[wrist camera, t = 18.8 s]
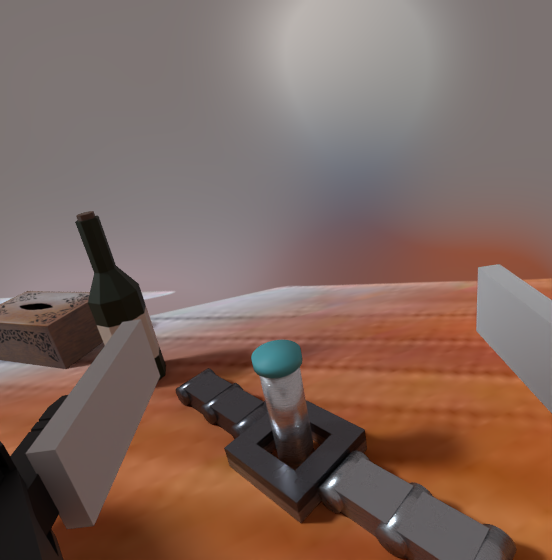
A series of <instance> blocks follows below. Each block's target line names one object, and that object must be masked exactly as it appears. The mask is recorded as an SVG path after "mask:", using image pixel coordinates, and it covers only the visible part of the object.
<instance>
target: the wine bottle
mask: <svg viewBox="0 0 552 560" xmlns="http://www.w3.org/2000/svg"><path fill="white" fill-rule="evenodd" d="M77 219H78V220H77V221H76V222H75V223H76V225H77V228H78V231H79V233H80V236H81V239H82V241H83V244H84V247H85V249H86V252H87V254H88V257H89V260H90V263H91V265H92V268H93V270H94V277H93V282H92V286H91V290H90V295H89V299H88V305H89V307H90V310H91V312H92V315H93V317H94V320H95V322H96V325H97V327H98V330H99V332H100V335H101V337H102V340H103V343H104V345H106V343H107V342H108V341H109V339H110V338H111V337H112V335H113V334H114V333H115V331H116V330H117V329H118V327H119V326H120V324H121V323H122V322H126V321H132V320H139V319H141V321H142V324H143V327H144V330H145V333H146V336H147V339H148V342H149V345H150V348H151V351H152V353H153V356H154V359H155V362H156V365H157V368H158V371H159V374H160V378H159V380H160V379H161V378H162V377H163V376H165V371H166V365H165V362H164V359H163V356H162V353H161V350H160V347H159V344H158V341H157V338H156V335H155V332H154V329H153V326H152V323H151V320H150V317H149V314H148V311H147V308H146V306H145V302H144V299H143V296H142V293H141V290H140V287H139V284H138V283H137V282H136V281H134V280H133V279H132V278H131V277H129V276H128V275H127V274H126V273H124V272H123V271H122V270H121V269H119V268H118V267H117V266H116V265H115V262H114V259H113V256H112V253H111V251H110V248H109V245H108V242H107V239H106V236H105V234H104V231H103V228H102V225H101V222H100V220H99V217H98V216H95V214H94V212H93V211H90V212H85V213H81V214H78V215H77ZM159 380H158V381H159Z"/></svg>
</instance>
